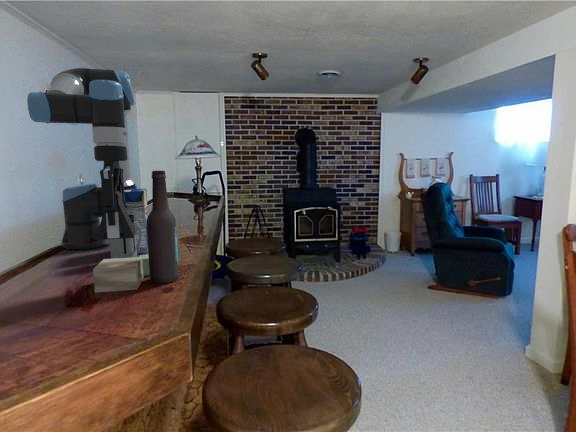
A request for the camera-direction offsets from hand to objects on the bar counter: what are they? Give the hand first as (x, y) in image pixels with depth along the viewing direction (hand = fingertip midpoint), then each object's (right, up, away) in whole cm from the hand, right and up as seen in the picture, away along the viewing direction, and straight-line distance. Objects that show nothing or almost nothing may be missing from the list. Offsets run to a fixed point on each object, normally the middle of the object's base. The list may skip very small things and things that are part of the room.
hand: (116, 235), depth 101 cm
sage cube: (+4, -12, +13) cm, 18 cm away
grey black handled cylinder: (-6, -10, +23) cm, 26 cm away
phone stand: (0, -1, 0) cm, 1 cm away
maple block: (0, -13, +2) cm, 14 cm away
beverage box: (-10, -8, +40) cm, 41 cm away
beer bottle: (+10, -13, +6) cm, 18 cm away
